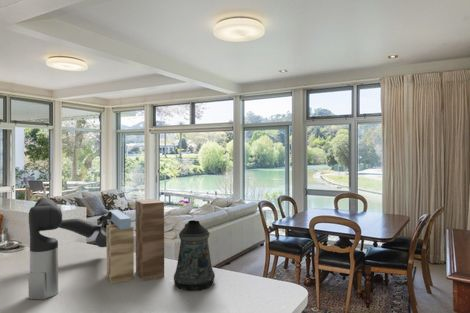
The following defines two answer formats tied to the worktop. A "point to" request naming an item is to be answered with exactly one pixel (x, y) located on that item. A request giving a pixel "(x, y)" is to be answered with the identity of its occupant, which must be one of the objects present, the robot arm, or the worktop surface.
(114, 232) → the oak tower
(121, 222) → the bar
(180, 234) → the beer stein
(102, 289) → the worktop surface
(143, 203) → the walnut stand
